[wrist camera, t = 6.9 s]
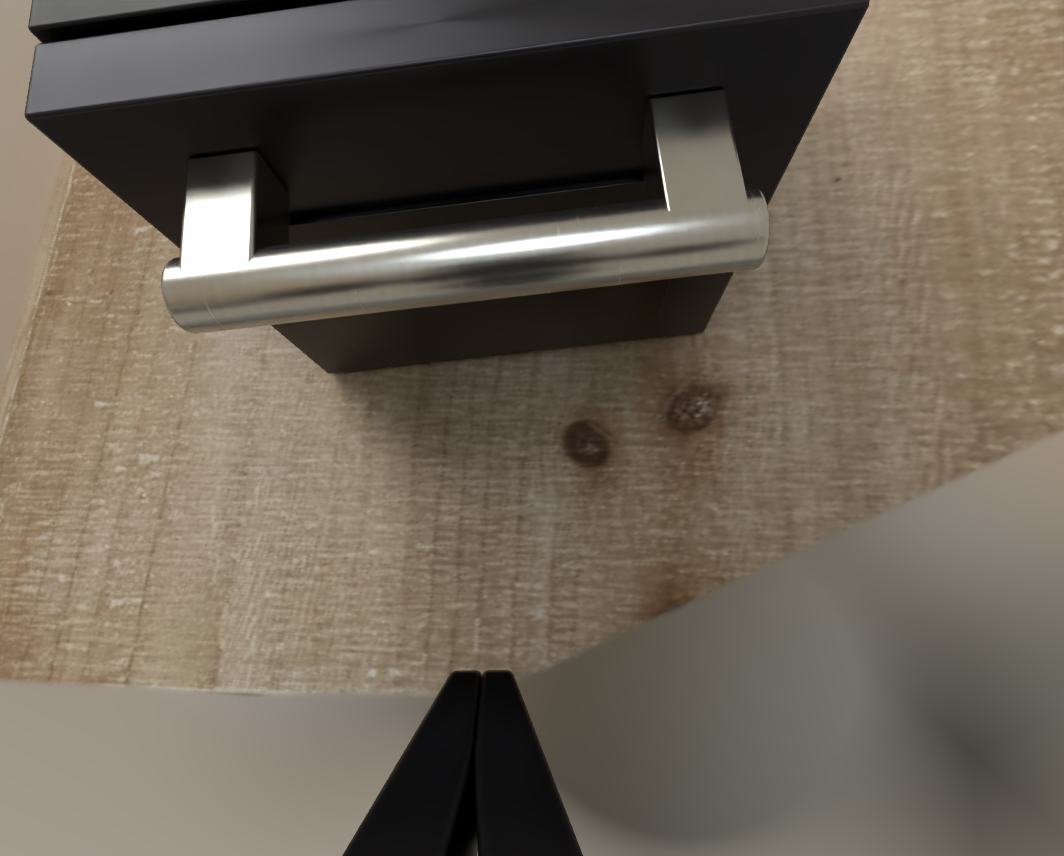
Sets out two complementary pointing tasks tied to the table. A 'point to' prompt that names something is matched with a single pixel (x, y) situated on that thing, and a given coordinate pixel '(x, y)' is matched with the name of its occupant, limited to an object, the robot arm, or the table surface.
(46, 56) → the oven door
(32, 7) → the oven
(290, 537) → the table surface
